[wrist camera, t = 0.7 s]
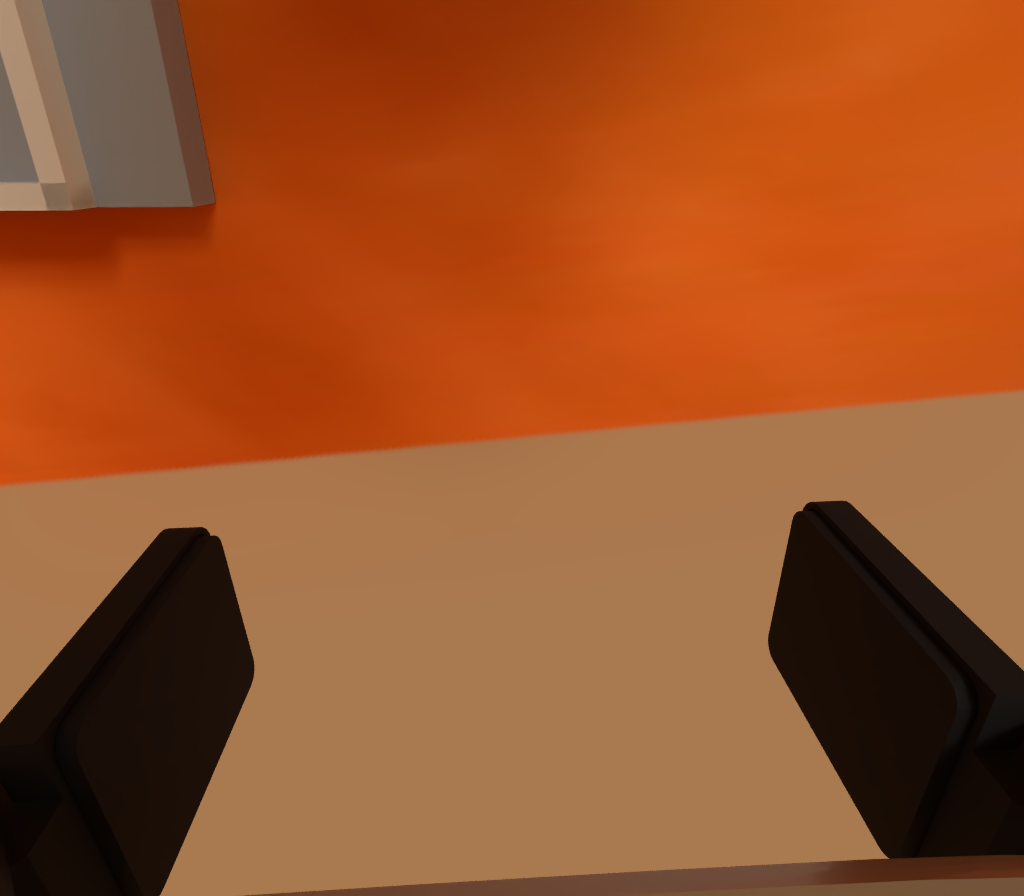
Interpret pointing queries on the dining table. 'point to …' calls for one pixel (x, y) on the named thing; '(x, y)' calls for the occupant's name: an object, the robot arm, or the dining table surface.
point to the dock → (98, 107)
